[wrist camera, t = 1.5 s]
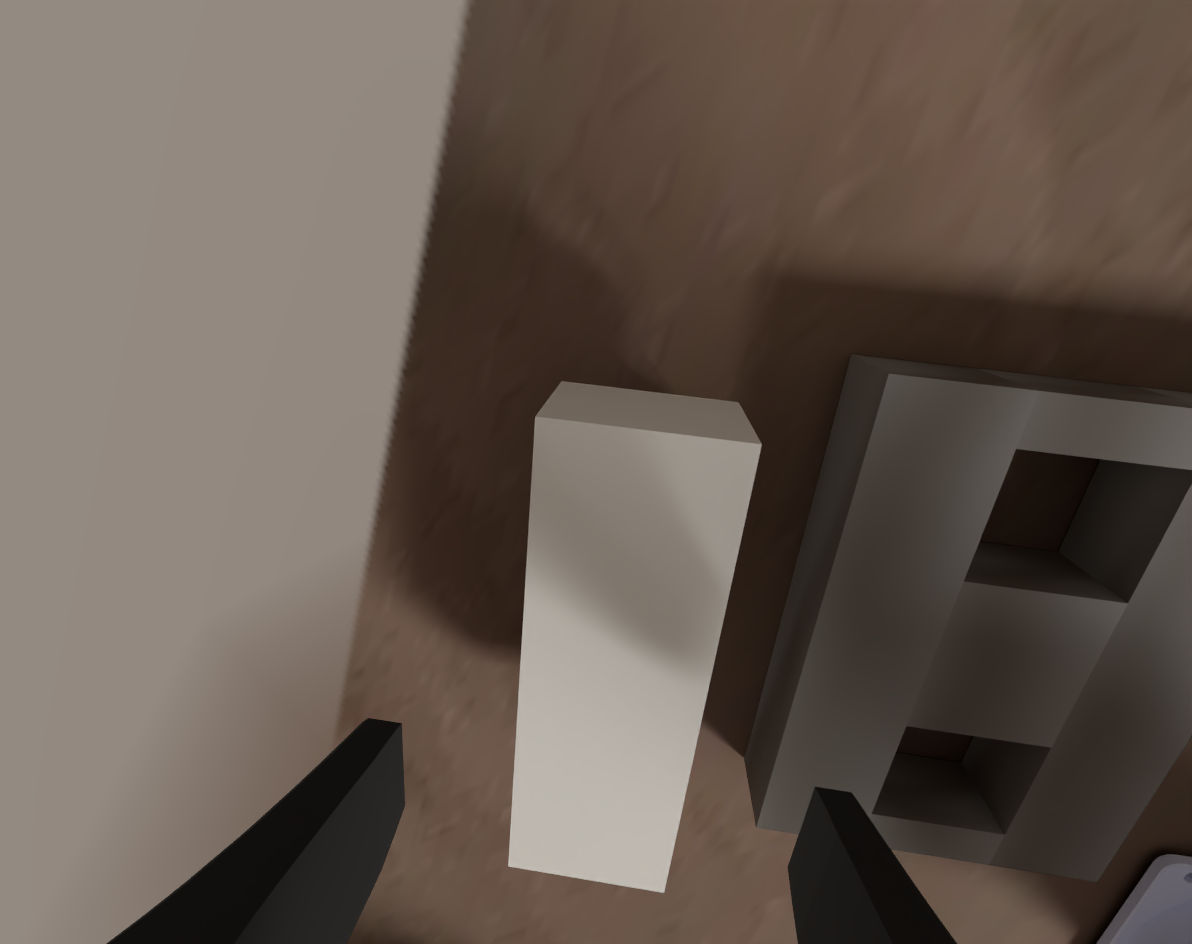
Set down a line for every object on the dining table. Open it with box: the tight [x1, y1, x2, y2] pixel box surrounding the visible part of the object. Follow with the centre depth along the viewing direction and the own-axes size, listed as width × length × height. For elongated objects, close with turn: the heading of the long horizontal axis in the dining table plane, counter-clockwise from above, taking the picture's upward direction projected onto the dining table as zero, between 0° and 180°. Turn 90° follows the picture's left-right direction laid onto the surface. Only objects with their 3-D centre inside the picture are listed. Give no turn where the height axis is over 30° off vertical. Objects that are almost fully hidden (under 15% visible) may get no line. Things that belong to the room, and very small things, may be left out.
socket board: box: [744, 354, 1192, 882], centre depth 15 cm, size 10×14×2 cm
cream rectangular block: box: [508, 381, 762, 893], centre depth 15 cm, size 4×12×6 cm, turn 174°
